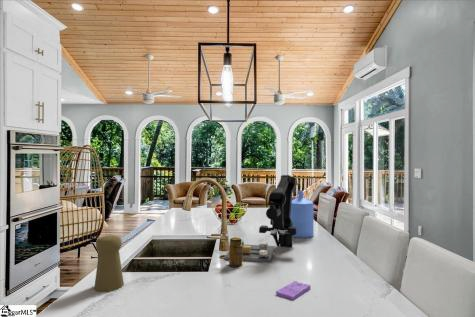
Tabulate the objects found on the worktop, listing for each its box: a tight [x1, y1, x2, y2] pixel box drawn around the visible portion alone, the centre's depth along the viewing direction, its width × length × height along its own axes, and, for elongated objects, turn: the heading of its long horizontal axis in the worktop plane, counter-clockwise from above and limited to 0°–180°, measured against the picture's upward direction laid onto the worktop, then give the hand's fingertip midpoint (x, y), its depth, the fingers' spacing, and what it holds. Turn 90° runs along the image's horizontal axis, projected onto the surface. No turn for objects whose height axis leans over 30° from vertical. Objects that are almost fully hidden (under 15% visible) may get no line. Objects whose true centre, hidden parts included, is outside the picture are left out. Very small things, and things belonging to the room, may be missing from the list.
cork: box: [93, 234, 125, 293], centre depth 119 cm, size 10×10×19 cm
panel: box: [224, 241, 276, 263], centre depth 158 cm, size 22×23×4 cm
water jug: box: [290, 190, 315, 239], centre depth 198 cm, size 16×16×28 cm
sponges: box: [275, 280, 311, 301], centre depth 113 cm, size 7×13×2 cm, turn 139°
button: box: [259, 250, 268, 257], centre depth 148 cm, size 4×4×2 cm
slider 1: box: [242, 246, 251, 254], centre depth 155 cm, size 4×3×3 cm
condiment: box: [225, 237, 247, 269], centre depth 142 cm, size 7×8×12 cm
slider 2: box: [258, 242, 269, 250], centre depth 160 cm, size 4×3×3 cm
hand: (278, 246), depth 159 cm, fingers closed
